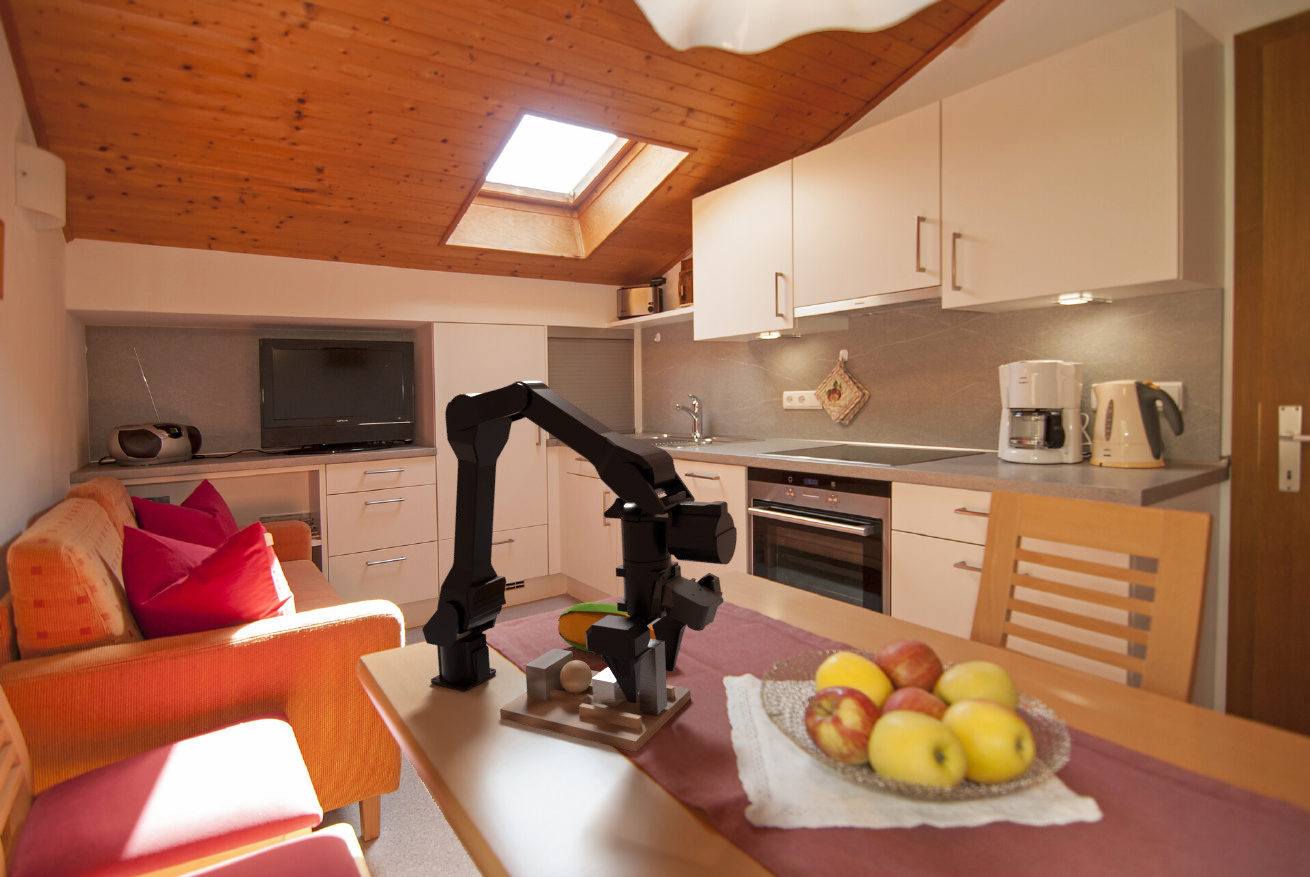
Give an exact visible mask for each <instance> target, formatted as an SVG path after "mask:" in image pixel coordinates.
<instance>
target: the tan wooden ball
mask: <svg viewBox="0 0 1310 877" xmlns="http://www.w3.org/2000/svg"><path fill="white" fill-rule="evenodd" d="M591 670H592V669H591V668H590V666H589V665H588V664H587V663H586V662H584V661H582V660H579V659H573V661H570V662H568V663H567V664H566V665H565V666H564V667H563V668H562V670H561V673H560V681H561V684H562V686H563V688H564V689H565V690H566V691H568V692H570V693H575V694H578V693H581V692H583V691H585V690H586V689H587V688H588V687H589V685H590V683H591V680H592V672H591Z"/></svg>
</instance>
